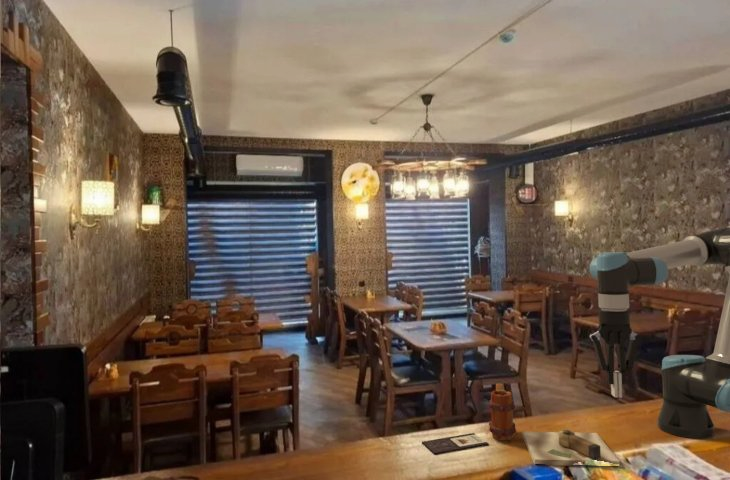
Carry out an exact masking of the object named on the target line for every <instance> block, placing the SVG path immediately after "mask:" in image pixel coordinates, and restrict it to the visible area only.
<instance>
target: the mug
mask: <svg viewBox="0 0 730 480" xmlns="http://www.w3.org/2000/svg"><path fill="white" fill-rule="evenodd" d="M488 404H489V405H488V407H489V408H490V414H491V421H489V422H488V425H489V428H488V431H489V432H490V433H491V436H492V438H493V439H494V440H497V441H502V442H503V441H510V440H512V439H513V438H514V434H515V433H516V432H517V429H516V423H515V422H514V414H513V413H514V412H513V411H514V409H515V408H516V407H515V406H516V405H515V403H514V400H513V394H512V392H510V391H507V390H504V384H503V383H497V382H496V384H495V390H492V392H490V400H489V401H488Z"/></svg>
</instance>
